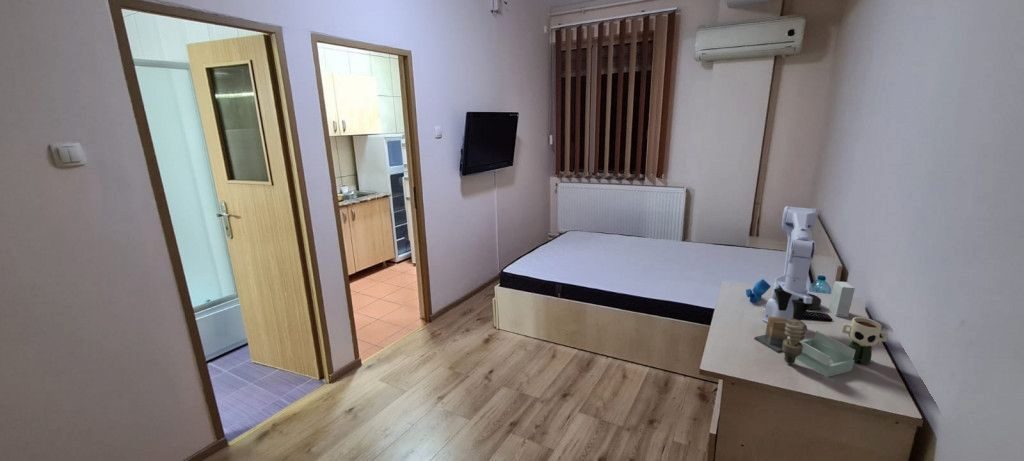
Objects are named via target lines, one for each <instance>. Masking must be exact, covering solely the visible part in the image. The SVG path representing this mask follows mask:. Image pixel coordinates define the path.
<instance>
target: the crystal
mask: <svg viewBox="0 0 1024 461" xmlns="http://www.w3.org/2000/svg"><path fill="white" fill-rule="evenodd" d="M770 288H771V285H770V284H769V283H768V282H767V281H766V280H765V279H764V278H763V279H762V278H761V279H760V280H758V281H757V282H756V283H755V284H754V286H753V288H752V289H751V288H749V289H746V290H745V294H746V296H747V298H749V302H750V303H754V304H757V303H758V302H759V301H761V300H762V296H763V295H765V294H766V293H767V291H768V290H770Z"/></svg>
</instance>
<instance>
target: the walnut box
mask: <svg viewBox="0 0 1024 461" xmlns="http://www.w3.org/2000/svg"><path fill="white" fill-rule="evenodd" d="M787 322H788V321H787V319H786V318H784V317H768V322H766V329H765V333H764V335H765V339H766V340H767V341H768V343H769V344H777V345H782V343H783V340H785V339H788V338H789V336H787V335H785V333H784V332H785V331H786V330H785V327H786V323H787Z"/></svg>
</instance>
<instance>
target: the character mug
mask: <svg viewBox="0 0 1024 461" xmlns="http://www.w3.org/2000/svg"><path fill="white" fill-rule="evenodd" d="M847 327H848V328H849V330H847ZM841 333H843V334H847V335H848V337H849V339H850V343H849V345H848V347H850V348H852V349H854V350H855V354H854V358H853V360H854V363H858V362H859V361H860V364H862V365H867V364H870V363H871V361H872V353H873V352H872V351H873V350H872V349H873V346H876V345H877V344H878V343H879V342H886V341H887V340H888V336H889V332H888V331H884V330H882V324H881V323H880V322H878V321H876V320H873V319H871V318H867V317H862V316H855V317H853V318H852V320H851V323H843V324H842V329H841ZM880 335H883V336H882V337H880Z"/></svg>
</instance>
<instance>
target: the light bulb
mask: <svg viewBox="0 0 1024 461" xmlns="http://www.w3.org/2000/svg"><path fill="white" fill-rule="evenodd" d="M785 330H786V331H785V332H784V333H785V335H787V336H788V338H787V339H785V340H783V343H782V350H783V351H782V352H783V354H784V357H783V358H784V361H785V363H787V364H788V365H793V364H795V362H796V357H797V356H799V355H800V354H801V352H802V349H803V345H802V344H801V343H800V342H799V341H803V340H805V337H806V336H805V335H806V334H807V330H808V326H807V324H806V323H805V322H804V321H800V320H797V319H792V318H791V319H789V322H787V323H786V327H785Z"/></svg>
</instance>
